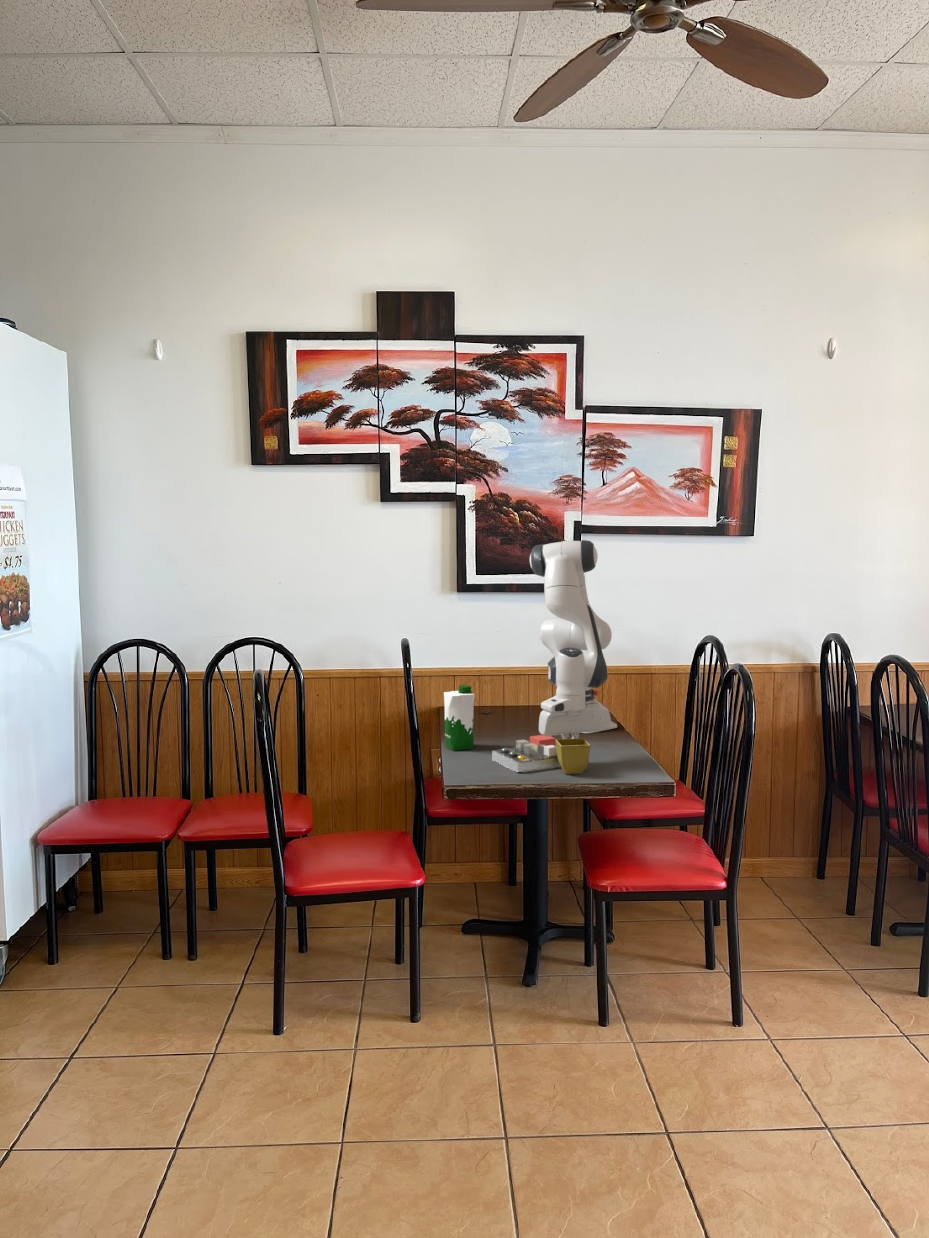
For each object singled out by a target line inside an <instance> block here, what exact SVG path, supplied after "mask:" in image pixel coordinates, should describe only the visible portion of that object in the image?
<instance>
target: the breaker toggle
mask: <svg viewBox="0 0 929 1238" xmlns="http://www.w3.org/2000/svg"><path fill="white" fill-rule="evenodd" d="M544 755H547V756H557V750H556V746H554V745H548V746H544Z"/></svg>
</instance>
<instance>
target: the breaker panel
mask: <svg viewBox="0 0 929 1238" xmlns="http://www.w3.org/2000/svg"><path fill="white" fill-rule="evenodd" d="M544 746H545V745H543V744H541V745H536V744H534V743H530V740H526V739H517V740H515V746H514V747H510V748H508V747H501V748H500V749H495V750H491V762H494V761H496V762H498V763H499V764H498V763H497V764H498V765H500V764H501V765H500V766H502V765H503V766H502V767H503V768H504V767H505V768H506V769H508V768H509V769H508V770H510V771H512V772H514V771H516V772H522V771H530V772H536V771H542V770H549V769H550V770H551V769H557V767H558V768H561V766H560V763H559V761H558V757H557V756H547V755H544ZM496 762H495V763H496ZM516 772H515V773H516Z"/></svg>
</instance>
